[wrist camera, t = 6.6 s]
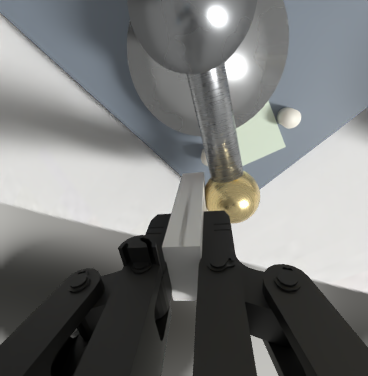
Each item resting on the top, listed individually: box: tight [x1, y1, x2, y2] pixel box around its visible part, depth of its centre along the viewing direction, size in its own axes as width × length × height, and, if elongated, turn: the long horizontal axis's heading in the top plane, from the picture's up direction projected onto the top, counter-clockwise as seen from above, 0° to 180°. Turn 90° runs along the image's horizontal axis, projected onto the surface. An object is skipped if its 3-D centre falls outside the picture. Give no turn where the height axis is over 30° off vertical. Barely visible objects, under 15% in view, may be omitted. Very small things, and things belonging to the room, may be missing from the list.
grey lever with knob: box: [127, 0, 289, 223], centre depth 11 cm, size 21×9×6 cm, turn 15°
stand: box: [0, 0, 368, 190], centre depth 14 cm, size 22×17×3 cm
